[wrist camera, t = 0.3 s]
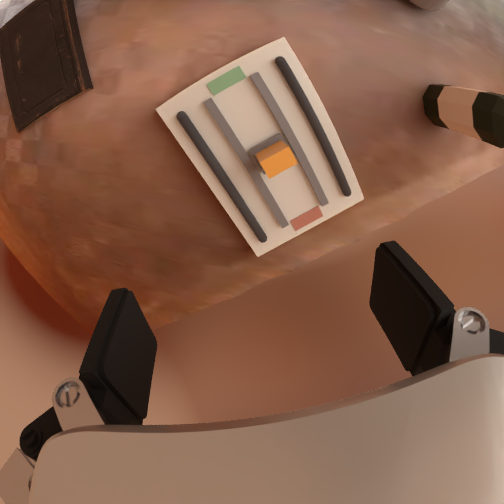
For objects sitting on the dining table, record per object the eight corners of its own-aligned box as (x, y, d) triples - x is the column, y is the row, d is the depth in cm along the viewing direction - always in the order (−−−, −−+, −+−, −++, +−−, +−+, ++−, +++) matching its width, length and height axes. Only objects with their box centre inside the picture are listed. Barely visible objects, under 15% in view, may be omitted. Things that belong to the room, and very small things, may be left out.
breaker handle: (248, 149, 38) (253, 158, 32) (279, 132, 37) (288, 139, 32) (263, 172, 39) (269, 185, 34) (292, 156, 39) (303, 167, 33)
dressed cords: (175, 114, 34) (173, 115, 33) (281, 55, 31) (283, 53, 30) (260, 241, 46) (261, 245, 44) (350, 192, 43) (354, 195, 41)
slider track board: (160, 108, 36) (153, 109, 32) (279, 40, 32) (285, 35, 29) (255, 247, 50) (258, 260, 46) (356, 192, 46) (366, 201, 42)
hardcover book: (24, 131, 33) (17, 133, 32) (4, 31, 21) (-3, 31, 19) (95, 88, 33) (88, 88, 31) (72, -18, 21) (66, -21, 19)
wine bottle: (433, 133, 41) (567, 198, 15) (415, 93, 37) (565, 135, 11) (458, 114, 38) (585, 166, 13) (442, 76, 35) (582, 108, 9)
